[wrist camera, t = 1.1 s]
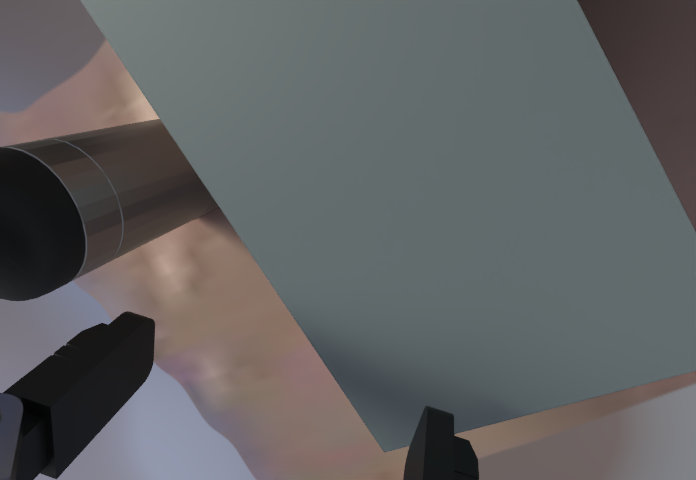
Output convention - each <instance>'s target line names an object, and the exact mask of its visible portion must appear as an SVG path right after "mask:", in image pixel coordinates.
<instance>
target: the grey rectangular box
mask: <svg viewBox="0 0 696 480" xmlns="http://www.w3.org/2000/svg"><path fill="white" fill-rule="evenodd" d="M81 2H82V3H83V5H84V6H85V8H86V9H87V11H88V12H89V14H90V15H91V17H92V18H93V20H94V21H95V23H96V24H97V26H98V27H99V29H100V30H101V32H102V33H103V35H104V36H105V38H106V39H107V41H108V42H109V44H110V45H111V47H112V48H113V50H114V51H115V53H116V54H117V56H118V57H119V59H120V60H121V61H122V63H123V64H124V66H125V67H126V69H127V70H128V72H129V73H130V75H131V76H132V78H133V79H134V81H135V82H136V84H137V85H138V87H139V88H140V90H141V91H142V93H143V94H144V96H145V97H146V99H147V100H148V102H149V103H150V105H151V106H152V108H153V109H154V111H155V112H156V114H157V115H158V117H159V118H160V120H161V121H162V123H163V124H164V125H165V127H166V128H167V130H168V131H169V133H170V134H171V136H172V137H173V139H174V140H175V142H176V143H177V145H178V146H179V148H180V149H181V151H182V152H183V154H184V155H185V157H186V158H187V160H188V161H189V163H190V164H191V166H192V167H193V169H194V170H195V172H196V173H197V175H198V176H199V178H200V179H201V181H202V182H203V184H204V185H205V186H206V188H207V189H208V191H209V192H210V194H211V195H212V197H213V198H214V200H215V201H216V203H217V204H218V206H219V207H220V209H221V210H222V212H223V213H224V215H225V216H226V218H227V219H228V221H229V222H230V224H231V225H232V227H233V228H234V230H235V231H236V233H237V234H238V236H239V237H240V239H241V240H242V242H243V243H244V245H245V246H246V247H247V249H248V250H249V252H250V253H251V255H252V256H253V258H254V259H255V261H256V262H257V264H258V265H259V267H260V268H261V270H262V271H263V273H264V274H265V276H266V277H267V279H268V280H269V282H270V283H271V285H272V286H273V288H274V289H275V291H276V292H277V294H278V295H279V297H280V298H281V300H282V301H283V303H284V304H285V306H286V307H287V309H288V310H289V311H290V313H291V314H292V316H293V317H294V319H295V320H296V322H297V323H298V325H299V326H300V328H301V329H302V331H303V332H304V334H305V335H306V337H307V338H308V340H309V341H310V343H311V344H312V346H313V347H314V349H315V350H316V352H317V353H318V355H319V356H320V358H321V359H322V361H323V362H324V364H325V365H326V367H327V368H328V370H329V371H330V372H331V374H332V375H333V377H334V378H335V380H336V381H337V383H338V384H339V386H340V387H341V389H342V390H343V392H344V393H345V395H346V396H347V398H348V399H349V401H350V402H351V404H352V405H353V407H354V408H355V410H356V411H357V413H358V414H359V416H360V417H361V419H362V420H363V422H364V423H365V425H366V426H367V428H368V429H369V431H370V432H371V433H372V435H373V436H374V438H375V439H376V441H377V442H378V444H379V445H380V447H381V448H382V450H383V451H384V452H388V451H392V450H395V449H399V448H403V447H407V446H410V444H411V442H412V439H413V437H414V434H415V431H416V429H417V426H418V423H419V421H420V418H421V416H422V413H423V410H424V408H425V406H430V407H433V408H436V409H439V410H442V411H445V412H448V413H452V414H453V415H454V434H456V433H460V432H464V431H468V430H472V429H476V428H479V427H483V426H487V425H491V424H495V423H498V422H502V421H506V420H510V419H514V418H518V417H521V416H525V415H529V414H533V413H537V412H540V411H544V410H548V409H552V408H556V407H560V406H563V405H567V404H571V403H575V402H579V401H583V400H586V399H590V398H594V397H598V396H602V395H605V394H609V393H613V392H617V391H621V390H625V389H628V388H632V387H636V386H640V385H644V384H647V383H651V382H655V381H659V380H663V379H667V378H670V377H674V376H678V375H682V374H686V373H689V372H693V371H696V232H695V230H694V228H693V226H692V224H691V222H690V220H689V218H688V216H687V214H686V212H685V210H684V208H683V206H682V204H681V202H680V200H679V198H678V196H677V194H676V193H675V191H674V189H673V187H672V185H671V183H670V181H669V179H668V177H667V175H666V173H665V171H664V169H663V167H662V165H661V163H660V161H659V159H658V157H657V155H656V153H655V151H654V150H653V148H652V146H651V144H650V142H649V140H648V138H647V136H646V134H645V132H644V130H643V128H642V126H641V124H640V122H639V120H638V118H637V116H636V114H635V112H634V110H633V108H632V106H631V105H630V103H629V101H628V99H627V97H626V95H625V93H624V91H623V89H622V87H621V85H620V83H619V81H618V79H617V77H616V75H615V73H614V71H613V69H612V67H611V65H610V63H609V62H608V60H607V58H606V56H605V54H604V52H603V50H602V48H601V46H600V44H599V42H598V40H597V38H596V36H595V34H594V32H593V30H592V28H591V26H590V24H589V22H588V20H587V19H586V17H585V15H584V13H583V11H582V9H581V7H580V5H579V3H578V1H577V0H81Z"/></svg>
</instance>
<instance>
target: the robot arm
mask: <svg viewBox="0 0 696 480" xmlns="http://www.w3.org/2000/svg"><path fill="white" fill-rule="evenodd" d="M218 207H219V206H218V204H217V203H216V201H215V200H214V198H213V197H212V195H211V194H210V192H209V191H208V189H207V188H206V186H205V185H204V184H203V182H202V181H201V179H200V178H199V176H198V175H197V173H196V172H195V170H194V169H193V167H192V166H191V164H190V163H189V161H188V160H187V158H186V157H185V155H184V154H183V152H182V151H181V149H180V148H179V146H178V145H177V143H176V142H175V140H174V139H173V137H172V136H171V134H170V133H169V131H168V130H167V128H166V127H165V125H164V124H163V123H162V121H161V120H160V119H157V120H149V121H144V122H138V123H132V124H127V125H121V126H116V127H110V128H104V129H99V130H93V131H87V132H82V133H76V134H70V135H65V136H59V137H53V138H48V139H43V140H38V141H32V142H26V143H21V144H15V145H10V146H4V147H0V298H1V299H5V300H10V301H25V300H29V299H34V298H38V297H40V296H42V295H45V294H47V293H50V292H52V291H54V290H55V289H57V288H59V287H61V286H63V285H65V284H67V283H69V282H70V281H72V280H74V279H76V278H78V277H80V276H82V275H84V274H86V273H88V272H90V271H92V270H94V269H96V268H98V267H100V266H102V265H104V264H106V263H108V262H110V261H112V260H114V259H116V258H118V257H120V256H122V255H124V254H126V253H128V252H130V251H132V250H134V249H136V248H138V247H140V246H142V245H144V244H146V243H148V242H150V241H152V240H154V239H156V238H158V237H160V236H162V235H164V234H166V233H168V232H170V231H172V230H174V229H176V228H178V227H180V226H182V225H184V224H186V223H188V222H190V221H192V220H194V219H196V218H198V217H200V216H202V215H204V214H206V213H208V212H210V211H212V210H214V209H216V208H218ZM154 336H155V322H154V320H153V319H151V318H147V317H144V316H141V315H138V314H135V313H132V312H128V311H127V312H124V313H122V314H121V315H120V316H119V317H117V318H116V319H115V320H114V321H113V322H111V323H110V324H109V325H107V324H104V323H101V324H98V325H96V326H93V327H91V328H89V329H86V330H84V331H82V332H80V333H79V334H78V335H76V336H75V337H74V338H73V339H71V340H70V341H69V342H67V344H66V346H62V347H61V348H60V349H59V350H57V351H56V352H55V353H54V355H53V356H50V357H48V358H47V359H46V360H44V361H43V362H42V363H41V364H39V365H38V366H37V367H35V368H34V369H33V370H32V371H30V372H29V373H28V374H26V375H25V376H24V377H23V378H21V379H20V380H19V381H17V382H16V383H15V384H14V385H12V386H11V387H10V388H8V389H7V390H6V391H5V392H3V393H0V480H34V479H35V477H37V475H38V474H39V473H41V474H44V475H47V476H49V477H52V478H55V479H57V478H58V477H59V476H60V475H61V474H62V473H63V471H64V470H65V469H66V468H67V467H68V466H69V465H70V464H71V463H72V461H73V460H74V459H75V458H76V457H77V456H78V455H79V454H80V453H81V452H82V450H83V449H84V448H85V447H86V446H87V445H88V444H89V443H90V442H91V440H92V439H93V438H94V437H95V436H96V435H97V434H98V433H99V432H100V431H101V429H102V428H103V427H104V426H105V425H106V424H107V423H108V422H109V421H110V420H111V418H112V417H113V416H114V415H115V414H116V413H117V412H118V411H119V409H120V408H121V407H122V406H123V405H124V404H125V403H126V402H127V401H128V400H129V399H130V398H131V397H132V395H133V394H134V393H135V392H136V391H137V390H138V389H139V388H140V386H141V385H142V384H143V383H144V382H145V380H146V379H147V377H148V376H149V374H150V371H151V369H152V366H153V360H154ZM403 480H479V472H478V459H477V457H476V455H475V452H474V450H473V448H472V446H471V444H470V442H469V440H465V439H462V438H459V437H456V436H454V415H453V414H452V413H448V412H445V411H442V410H439V409H436V408H433V407H430V406H425V408H424V410H423V413H422V416H421V418H420V421H419V423H418V426H417V429H416V431H415V434H414V437H413V439H412V442H411V444H410V447H409V451H408V455H407V459H406V464H405V470H404V479H403Z"/></svg>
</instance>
